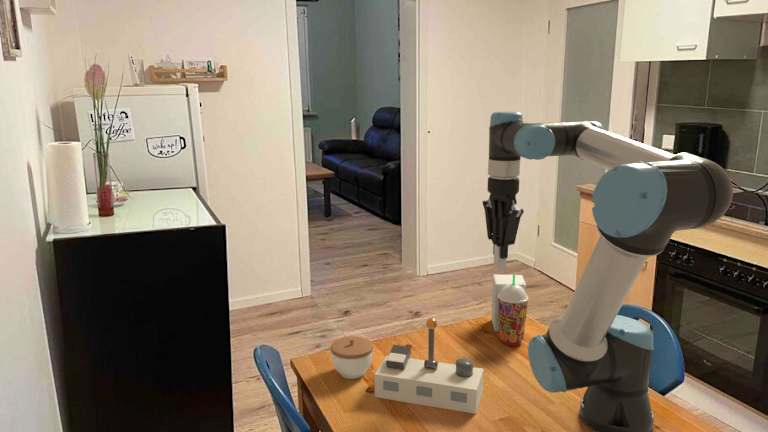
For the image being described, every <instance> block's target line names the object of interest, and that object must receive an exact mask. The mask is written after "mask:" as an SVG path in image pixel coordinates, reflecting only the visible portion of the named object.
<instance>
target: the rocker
mask: <svg viewBox="0 0 768 432" xmlns="http://www.w3.org/2000/svg"><path fill="white" fill-rule="evenodd" d="M411 354H412V346H405V345H401V344H400V345H399V344H393V345H392V348H391V350H390V351H389V354H388V355H389V356H388V358H387V360H386V367H389V368H395V369H402V370H404V369H405V367H406V364H407V362H408V360H409V358H410V357H411Z"/></svg>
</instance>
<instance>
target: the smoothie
mask: <svg viewBox="0 0 768 432" xmlns="http://www.w3.org/2000/svg"><path fill="white" fill-rule="evenodd" d="M512 275H513V281H512V284H508V285H506V286H504V287H503V288H502V289H501V291H500V293H499V294H498V316H499V331H498V338H499V340H500V342H501V343H502V344H503V345H506V346H508V347H511V346H512V347H515V346H520V345H521V344H522V341H523V340H524V338H525V337H524V336H525V327H526V321H527V320H526V319H527V310H528V303H529V296H528V294H527V291H526V292H525V290H524V289H523V288H522V287H521V286H520V285H517V284H515V275H516V274H512Z"/></svg>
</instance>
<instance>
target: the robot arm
mask: <svg viewBox="0 0 768 432" xmlns="http://www.w3.org/2000/svg"><path fill="white" fill-rule="evenodd" d="M523 119H524V118H523V114H522V113H521V112H519V111H495V112H494V111H493V112H492V114H491V115H490V122H489V127H488V130H489V131H488V132H489V133H488V138H489V139H488V162H487V163H488V164H487V165H488V166H487V174H488V176H489V177H488V178H487V193H489V197H488V199H486V200H482V206H483V209H484V216H485V223H486V224H485V225H486V233H487V239H488V240H489V241H491V243H492V245H493V248H492V249H493V250H492V254H493V267H492V268H493V270H494V271H496V272H500V271H505V270H507V259H508V257H509V253H508V252H509V246H512V245H515V243H516V239H517V235H518V229H519V225H520V222H521V221H520V220H521V218H522V216H523V214H524V213H525V211H524V209H523V208H520V207H519V206H518V205H517V197H516V196H517V194H518V193H519V192H520V178H519V176H520V173H521V170H520V169H521V158H523V159H526V160H535V161H536V160H537V161H538V160H539V161H540V160H544V159H545V158H547V157H560V156H561V157H562V156H574V157H576V158H579V159H581V160H584V161H586V162H588V163H591V164H593V165H595V166H598V167H600V168H601V169H604V170H606V172H604V173H603V175H601V177H600V179H599V180H598V181H597V182H596V185H595V187H594V191H593V194H592V199H591V202H592V203H593V204H594V205H593V207H592V208H591V211H592V216H593V219H594V222H595V223H596V224H595V226H596V230H597V231H598V234H599V237H598V240H597V242H596V244H595V246H594V249H593V251H592V252H591V255H590V257H589V259H588V261H587V264H586V266H585V268H584V270H583V272H582V274H581V276H580V279H579V280H578V282H577V285H576V288H575V289H574V291H573V293H572V295H571V298H570V300H569V302H568V304H567V307H566V309H565V311H564V313H563V314H562V315H559V316H557V317H555V318H554V319H553V320H552V321H551V322H550V324H549V327H548V329H547V331H546V333H544V334H542V335H541V334H536V335H535V336H533V337H531V338H530V340H529V342H528V345H527V346H528V347H527V356H528V361H529V365H530V369H531V372H532V374H533V377H535V380H536V381H537V383H538V385H539V386H540V387H541V388H542V389H543V390H545V391H547V392H548V393H551V394H552V393H554V394H555V393H560V392H562V393H566V392H568V391H573V390H578V389H583V388H586V389H585V390H586V391H585V392H584V395H583V397H582V398H581V401H580V403H579V404H580V405H579V416H580V418H581V420H582V421H583V422H584V424H586V426H588V427H589V428H590V429H592V430H594V431H595V432H652V431H653V429H654V422H655V421H654V420H655V416H654V411H653V410H652V407H651V401H650V398H649V396H650V395H649V385H650V376H651V370H652V369H651V368H652V362H653V361H652V360H653V351H654V350H655V348H654V332H653V330H652V329H651V328H650V327H649V326H648V325H647V324H645V323H643V322H641V321H639V320H637V319H634V318H631V317H628V316H625V315H619V314H618V313H620V310H621V308H622V307H623V305H624V303H625V301H626V299H627V297H628V295H629V293H630V292H631V290H632V288H633V286H634V285H635V282H636V281H637V279H638V277H639V275H640V274H641V271H642V270H643V268H644V266H645V264H646V263H647V261H648V259H649V257H656V256H657V255H659V254H661V253H662V252H664V251H665V248H666V246H667V244H668V243H669V242H670V239H671V238H672V236H673V234H674V233H676V232H678V231H686V230H695V229H701V228H705V227H707V226H710V225H712V224H714V223H716V222H717V221H718V220H720V219H721V218H722V217H724V216H725V214H726V212H727V211H729V210H728V209H729V208H730V206H731V203H732V201H733V198H734V197H733V195H734V188H733V187H734V185H733V184H732V183H733V182H732V179H731V177H730V176H729V174H728V172H727V171H726V170H725V169H724V168H723V167H722V166H721V165H720V164H718V163H717V162H715V161H712V160H710V159H707V158H705V157H700V156H698V155H695V154H692V153H689V152H680V153H677V154H673V153H671V152H669V151H665V150H663V149H659V148H656V147H655V146H654V147H653V146H651V145H648V144H645V143H642V142H639V141H636V140H633V139H630V138H628V137H624V136H621V135H620V134H616V133H613V132H610V131H607V130H606V129H605V127H604V126H603V125H602V123H601V122H598V121H591V120H580V121H566V122H565V121H564V122H563V121H562V122H535V123H532V122H531V123H528V122H524V121H523Z"/></svg>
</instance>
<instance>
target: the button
mask: <svg viewBox="0 0 768 432" xmlns="http://www.w3.org/2000/svg"><path fill="white" fill-rule="evenodd" d="M455 365H456V375H458V376H460V377H470V376H472V375H473V367H474V361H473V360H472V359H470V358H464V357H461V358H458V359H456V361H455Z"/></svg>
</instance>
